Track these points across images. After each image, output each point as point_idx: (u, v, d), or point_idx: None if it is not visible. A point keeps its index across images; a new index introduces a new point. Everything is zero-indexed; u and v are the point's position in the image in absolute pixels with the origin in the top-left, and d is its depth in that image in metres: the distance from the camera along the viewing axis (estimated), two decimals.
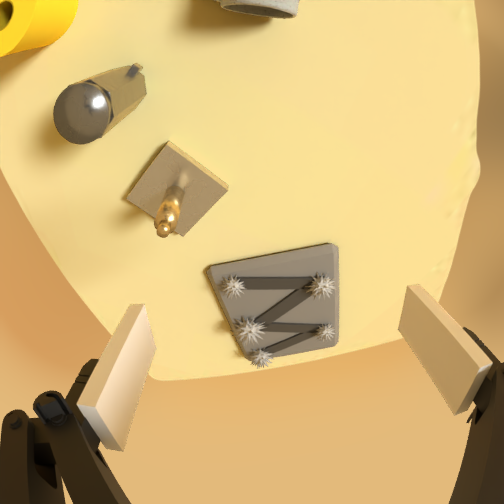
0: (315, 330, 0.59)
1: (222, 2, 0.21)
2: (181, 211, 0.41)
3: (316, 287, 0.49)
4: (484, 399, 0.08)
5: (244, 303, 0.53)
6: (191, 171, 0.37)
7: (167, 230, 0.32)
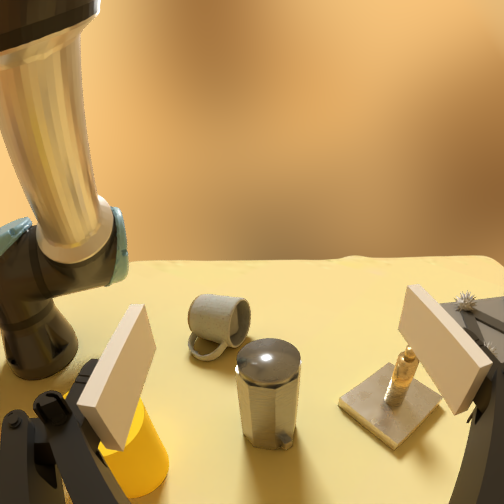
0: None
1: (226, 329, 0.42)
2: (413, 396, 0.31)
3: (465, 303, 0.45)
4: (484, 399, 0.08)
5: None
6: (369, 383, 0.34)
7: None
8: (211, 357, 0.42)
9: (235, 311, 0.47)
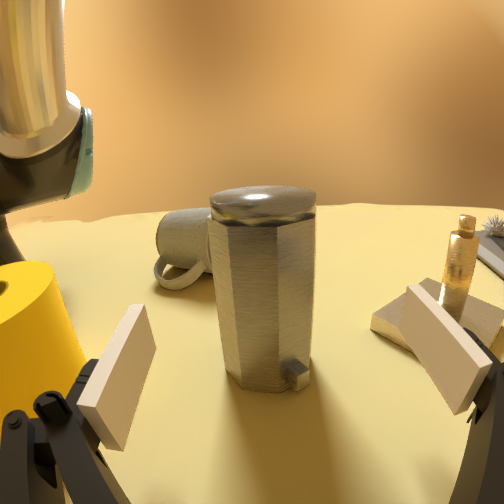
0: None
1: (203, 240, 0.32)
2: (471, 310, 0.21)
3: (495, 227, 0.36)
4: (484, 399, 0.08)
5: None
6: None
7: (463, 215, 0.19)
8: (182, 282, 0.32)
9: None
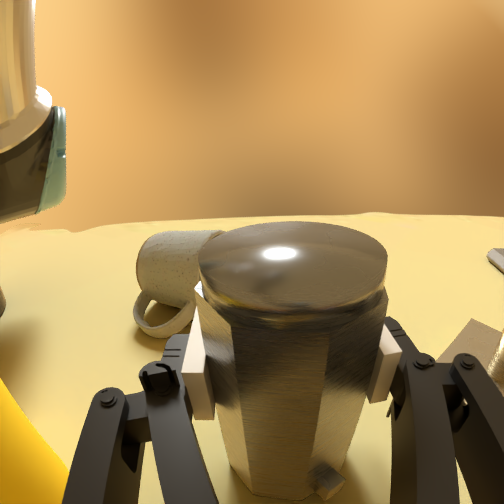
0: None
1: (193, 277, 0.24)
2: None
3: None
4: (399, 393, 0.09)
5: None
6: (458, 351, 0.17)
7: None
8: (168, 330, 0.24)
9: None
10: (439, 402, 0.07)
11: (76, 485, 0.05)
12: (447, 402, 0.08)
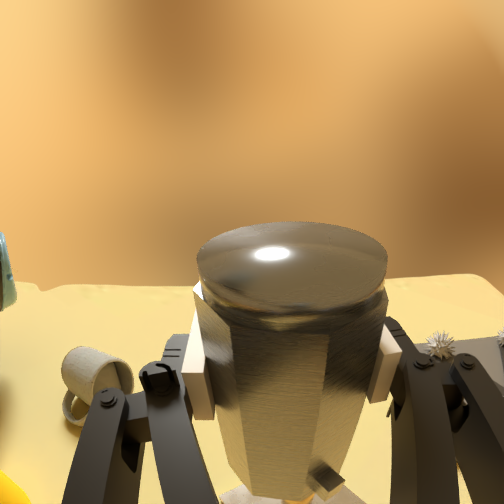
0: None
1: (89, 397, 0.28)
2: None
3: (439, 348, 0.34)
4: (399, 393, 0.09)
5: None
6: None
7: None
8: (81, 424, 0.28)
9: (109, 372, 0.32)
10: (439, 402, 0.07)
11: (76, 485, 0.05)
12: (447, 402, 0.08)
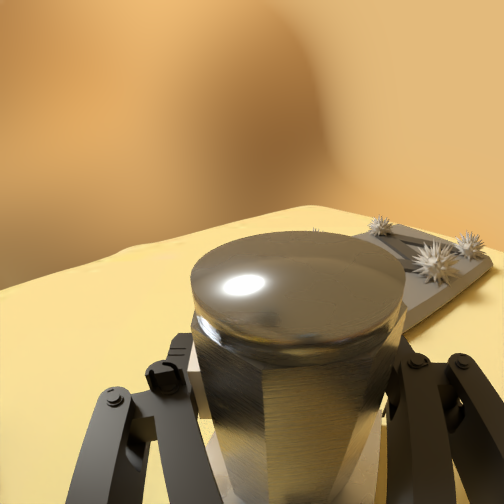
0: (387, 235, 0.44)
1: None
2: None
3: None
4: (394, 394, 0.09)
5: None
6: (219, 453, 0.14)
7: None
8: None
9: None
10: (434, 402, 0.07)
11: (80, 484, 0.05)
12: (442, 402, 0.08)
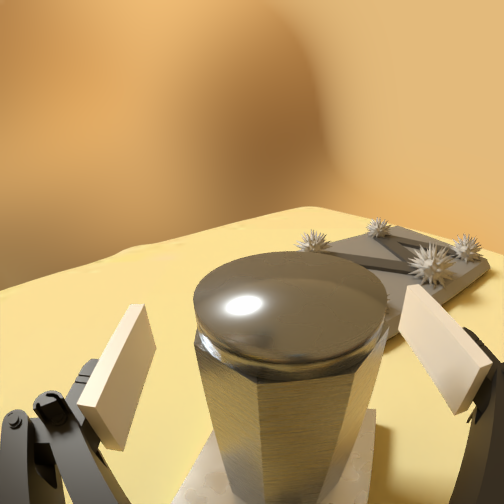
0: (385, 237, 0.45)
1: None
2: None
3: (313, 246, 0.40)
4: (484, 399, 0.08)
5: (396, 290, 0.31)
6: (218, 450, 0.15)
7: None
8: None
9: None
10: None
11: None
12: None
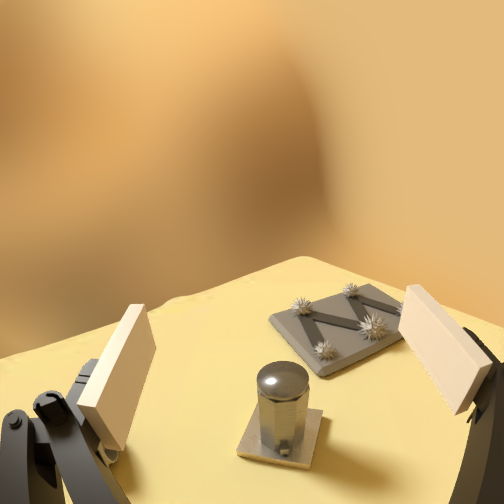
0: (354, 297, 0.68)
1: (101, 452, 0.28)
2: None
3: (301, 308, 0.63)
4: (484, 399, 0.08)
5: (345, 342, 0.54)
6: (253, 426, 0.38)
7: None
8: None
9: None
10: None
11: None
12: None
